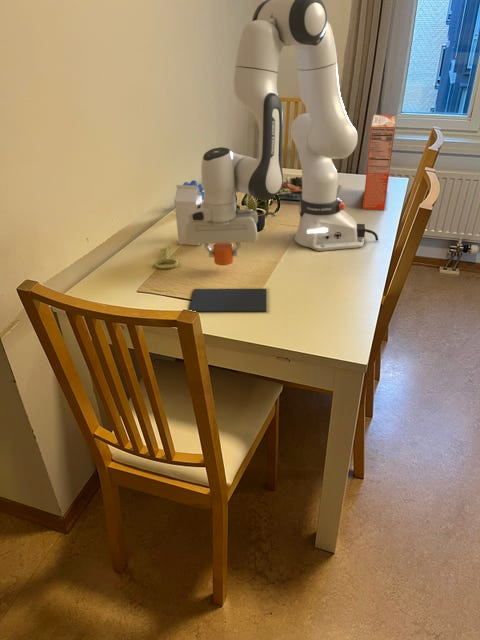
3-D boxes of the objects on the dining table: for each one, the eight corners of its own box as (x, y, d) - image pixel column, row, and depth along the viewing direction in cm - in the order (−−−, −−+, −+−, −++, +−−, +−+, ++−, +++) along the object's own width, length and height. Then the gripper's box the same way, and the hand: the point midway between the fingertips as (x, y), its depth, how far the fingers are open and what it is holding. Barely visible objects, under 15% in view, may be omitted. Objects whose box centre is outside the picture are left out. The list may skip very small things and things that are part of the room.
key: (168, 251, 162) (168, 245, 161) (180, 266, 152) (179, 260, 151) (147, 256, 160) (146, 249, 158) (157, 271, 150) (156, 265, 149)
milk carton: (199, 245, 166) (194, 189, 156) (178, 244, 167) (173, 188, 157) (204, 237, 171) (201, 182, 161) (184, 236, 173) (179, 181, 163)
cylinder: (233, 257, 149) (232, 241, 146) (232, 265, 144) (231, 249, 141) (215, 257, 149) (214, 242, 146) (213, 265, 144) (212, 249, 142)
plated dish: (244, 200, 204) (244, 182, 200) (262, 181, 227) (262, 165, 223) (330, 207, 195) (332, 188, 191) (339, 187, 218) (341, 170, 214)
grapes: (210, 208, 197) (209, 177, 190) (204, 214, 191) (202, 183, 185) (183, 206, 200) (180, 176, 194) (176, 211, 194) (173, 181, 188)
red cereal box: (365, 190, 210) (373, 114, 194) (385, 191, 208) (395, 115, 193) (362, 208, 191) (371, 126, 176) (384, 210, 190) (395, 127, 174)
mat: (266, 289, 138) (266, 288, 138) (266, 312, 128) (266, 310, 128) (194, 290, 139) (194, 288, 139) (188, 312, 129) (188, 310, 129)
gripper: (257, 205, 140) (259, 250, 148) (185, 207, 141) (190, 252, 149) (257, 213, 135) (259, 259, 142) (182, 215, 136) (187, 261, 143)
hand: (223, 255), depth 145 cm, fingers closed on cylinder, 5 cm apart
